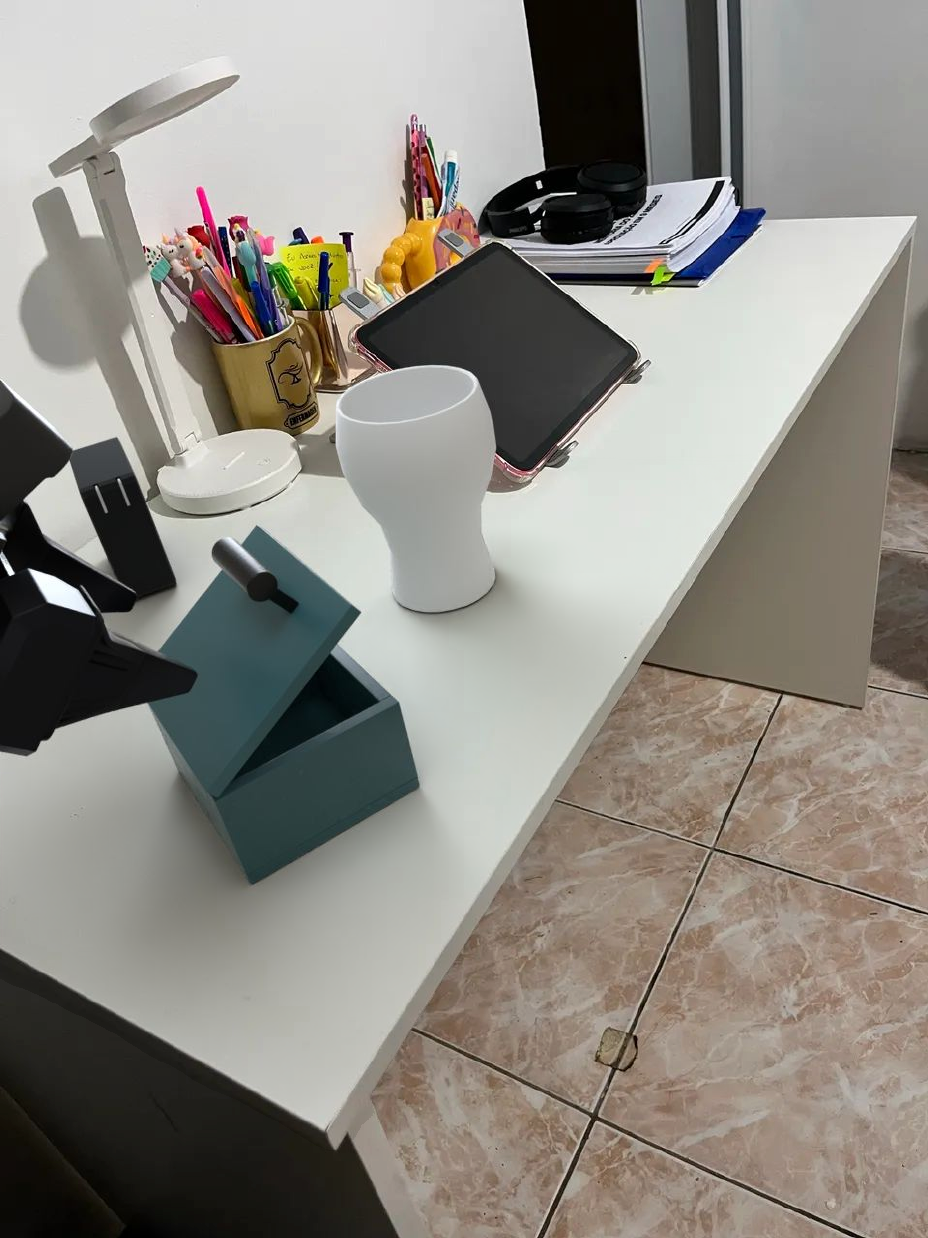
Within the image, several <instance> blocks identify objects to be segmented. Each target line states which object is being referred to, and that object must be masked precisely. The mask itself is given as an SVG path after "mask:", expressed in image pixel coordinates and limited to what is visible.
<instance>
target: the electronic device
mask: <svg viewBox="0 0 928 1238" xmlns="http://www.w3.org/2000/svg"><path fill="white" fill-rule="evenodd" d="M68 462H69V463H70V467H71V470H72V473H73V476H74V480H75V483H76V486H77V489H78V493H79V495H80V498H81V501H82V503H83V504H84V508H85V510H86V512H87V514H88V517H89V519H90V522H91V524H92V526H93V528H94V531H95V533H96V535H97V538H98V540H99V542H100V545H101V547H102V549H103V551H104V554H105V556H106V558H107V561H108V563H109V565H110V568H111V570H112V572H113V575H114V577H115V579H116V580H117V581H119V582H120V583H122V584H124V585H125V586H127V587H128V588H130V589H132V590H133V591H135V593H136V594H137V596H138V598H141V597H144V596H147V595H150V594H152V593H156V592H159V591H161V590H163V589H167V588H169V587H171V586H174V585H177V577H176V575H175V572H174V570H173V567H172V565H171V562H170V559H169V557H168V554H167V552H166V549H165V546H164V544H163V542H162V539H161V537H160V534H159V532H158V531H159V530H158V529H157V526H156V523H155V521H154V518H153V516H152V514H151V511H150V508H149V506H148V503H147V500H146V498H145V495H144V493H143V490H142V487H141V484H140V482H139V479H138V478H137V475H136V473H135V470H134V469H133V467H132V465H131V462H130V460H129V458H128V456H127V454H126V451H125V449H124V447H123V445H122V443H121V441H120V439H119V438H118V437H117V436H115V437H111V438H108V439H105V440H102V441H98V442H96V443H92V444H89V445H86V446H83V447H80V448H77V449H73V453H72V456H71V458H70V460H69V461H68Z"/></svg>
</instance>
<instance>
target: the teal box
mask: <svg viewBox="0 0 928 1238" xmlns="http://www.w3.org/2000/svg"><path fill="white" fill-rule="evenodd" d="M147 705H148V707H149V710H150V712H151V714H152V716H153V719H154V720H155V723H156V725H157V727H158V729H159V732H160V734H161V737H162V738H163V741H164V743H165V745H166V747H167V750H168V751H169V754H170V756H171V758H172V760H173V763H174V765H175V767H176V769H177V771H178V772H179V774H180V775H181V777H182V779H183V780H184V782H185V784H186V785H187V787H188V788H189V790H190V792H191V793H192V795H193V796H194V798H195V800H196V801H197V802H198V805H199V806H200V807H201V809H202V810H203V812H204V814H205V816H206V817H207V819H208V820H209V822H210V823H211V825H212V826H213V828H214V829H215V831H216V832H217V834H218V836H219V838H220V839H221V840H222V843H223V844H224V845H225V847H226V849H227V850H228V852H229V853H230V855H231V857H232V858H233V859H234V861H235V863H236V864H237V866H238V867H239V869H240V871H241V873H242V874H243V876H244V877H245V879H246V880H247V882H248V883H249V885H255V884H256V883H258V882H259V881H261V880H263V879H264V878H266V877H268V876H269V875H271V874H273V873H275V872H276V871H278V870H279V869H282V868H283V867H285V866H286V865H288V864H290V863H291V862H293V861H295V860H296V859H299V858H301V857H302V856H303V855H306V854H307V853H309V852H310V851H312V850H313V849H315V848H317V847H319V846H321V845H322V844H324V843H326V842H327V841H329V840H330V839H332V838H334V837H336V836H338V835H340V834H341V833H343V832H344V831H346V830H348V829H349V828H351V827H353V826H355V825H356V824H358V823H360V822H361V821H363V820H365V819H366V818H368V817H370V816H372V815H374V814H375V813H377V812H379V811H380V810H382V809H383V808H385V807H387V806H389V805H390V804H392V803H394V802H395V801H397V800H399V799H400V798H403V797H404V796H406V795H408V794H409V793H410V792H412V791H414V790H416V789H418V788H419V787H421V785H420V780H419V776H418V775H419V774H418V771H417V767H416V762H415V759H414V756H413V751H412V748H411V744H410V743H411V742H410V739H409V735H408V731H407V728H406V723H405V719H404V715H403V711H402V709H401V708H402V707H401V704H400V702H399V700H398V699H397V698H395V697H394V696H393V695H392V694H391V693H390V692H389V691H388V690H386V688H385V687H383V686H382V684H380V682H378V681H377V680H376V679H375V678H374V677H373V676H372V675H371V674H370V673H369V672H368V671H367V670H366V669H364V668H363V667H362V665H360V664H359V663H358V662H357V661H356V660H355V659H354V658H353V657H352V656H351V655H350V654H349V653H348V652H347V651H345V650H344V649H343V648H342V647H341V646H340V645H339V643H338V644H337V645H336V646H335V648H334V649H333V650H332V651H331V653H330V654H329V655H328V657H327V658H326V659H325V660H324V662H323V663H322V664H321V666H320V667H319V668H318V669H317V671H316V672H315V673H314V675H313V676H312V677H311V678H310V680H309V681H308V682H307V684H306V685H305V686H304V688H303V689H302V690H301V691H300V693H299V694H298V695H297V697H296V698H295V699H294V700H293V702H292V703H291V704H290V706H289V707H288V708H287V709H286V711H285V712H284V713H283V715H282V716H281V717H280V718H279V720H278V721H277V722H276V724H275V725H274V726H273V728H272V729H271V730H270V731H269V733H268V734H267V735H266V737H265V738H264V739H263V740H262V742H261V743H260V744H259V746H258V747H257V748H256V749H255V751H254V752H253V753H252V755H251V756H250V757H249V758H248V760H247V761H246V762H245V764H244V765H243V766H242V768H241V769H240V770H239V771H238V773H237V774H236V775H235V777H234V778H233V779H232V780H231V782H230V783H229V784H228V786H227V787H226V788H225V789H224V791H223V792H222V793H221V795H220V796H219V797H215V796H213V795H210V794H208V793H206V792H205V790H204V789H203V787H202V785H201V784H200V782H199V781H198V779H197V778H196V776H195V775H194V773H193V772H192V770H191V769H190V767H189V766H188V764H187V762H186V761H185V759H184V758H183V756H182V755H181V753H180V752H179V750H178V749H177V747H176V746H175V744H174V743H173V741H172V739H171V738H170V736H169V735H168V733H167V732H166V730H165V729H164V727H163V726H162V724H161V723H160V721H159V720H158V718H157V716H156V715H155V713H154V712H153V710H152V709H151V707H150V706H149V704H148V703H147Z"/></svg>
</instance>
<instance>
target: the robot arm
mask: <svg viewBox="0 0 928 1238" xmlns="http://www.w3.org/2000/svg"><path fill="white" fill-rule="evenodd" d="M73 450H74V449H73V446H72V445H71V444H70V443H69V442H68V441H67V440H66V439H65V438H64V436H62V434H61V433H60V432H59V431H58V429H57V428H56V427H55V426H53V424H51V423H50V422H49V421H48V420H46V419H45V417H44V416H42V415H41V414H40V413H39V412H38V411H37V410H36V409H34V408H33V407H32V406H31V405H30V404H29V403H28V402H27V401H26V400H24V399H23V397H21V396H20V395H19V394H18V393H17V392H16V391H15V390H14V389H12V387H10V386H9V385H8V384H7V383H6V382H5V381H3V380H2V379H1V378H0V752H1V753H6V754H11V755H17V756H23V757H29V756H31V755H32V754H34V753H36V752H37V751H38V749H39V747H40V745H41V743H42V742H47V741H49V740H50V739H51V738H52V737H53V735H54V734H55V731H56V730H57V729H61V728H64V727H67V726H70V725H74V724H76V723H80V722H83V721H86V720H88V719H91V718H95V717H97V716H101V715H104V714H108V713H111V712H116V711H120V710H125V709H127V708H132V707H137V706H141V705H145V704H148V703H149V702H153V701H157V700H162V699H166V698H170V697H174V696H178V695H182V694H186V693H188V692H190V690H191V689H192V687H193V685H194V683H195V681H196V679H197V677H198V674H197V672H196V671H195V670H194V669H193V668H191V667H189V666H187V665H185V664H183V663H181V662H179V661H177V660H175V659H173V658H171V657H169V656H167V655H165V654H162V653H160V652H158V651H159V650H156V649H153V648H152V647H149V646H147V645H145V644H142V643H141V642H138V641H136V640H133V639H132V638H129V637H127V636H125V635H123V634H121V633H118V632H116V631H114V630H112V629H111V628H108V627H107V626H106V624H105V618H104V616H103V614H119V613H120V614H121V613H123V614H124V613H130V612H131V611H132V610H133V609H134V606H135V604H136V602H137V601H138V599H139V597H138V596H137V594H136V593H135V591H133V590H132V589H130V588H128V587H127V586H125V585H124V584H122V583H120V582H119V581H117V579H116V578H114V577H112V576H111V575H109V574H107V572H104V571H103V570H102V569H100V568H98V567H96V566H94V565H93V564H92V563H90V562H88V561H87V560H85V559H83V558H82V557H80V556H78V555H76V554H75V553H73V552H72V551H71V550H69V549H68V548H66V547H64V546H63V545H61V544H59V543H58V542H56V541H55V540H53V539H52V538H51V537H49V536H47V535H46V534H45V533H43V531H42V529H41V527H40V525H39V523H38V521H37V519H36V516H35V514H34V513H33V511H32V508H31V506H30V505H29V503H28V501H27V500H26V498H27V497H28V496H29V495H30V494H31V493H32V492H33V491H34V490H36V488H38V487H39V486H40V484H41V483H43V482H44V481H45V480H46V479H52V478H55V477H56V476H57V475H58V474H60V472H62V470H63V469H64V468H65V467H66V466H67V464H68V463H69V462H70V461H69V460H70V458H71V456H72V453H73Z"/></svg>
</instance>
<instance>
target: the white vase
mask: <svg viewBox="0 0 928 1238" xmlns="http://www.w3.org/2000/svg"><path fill="white" fill-rule="evenodd" d="M335 404H336V406H335V448H336V452H337V457H338V460H339V464H340V468H341V472H342V474H343V476H344V478H345V480H346V482H347V483H348V485H349V487H350V488H351V490H352V491H353V493H354V495H355V496H356V498H357V500H358V502H359V503H360V506H361V507H362V508H363V509H364V510H365V511H366V512H367V513H368V515H370V517H372V518H373V519H374V521H375V522H376V523H377V524H378V526H380V529H381V531H382V534H383V536H384V539H385V541H386V545H387V547H388V550H389V553H390V555H389V557H390V580H391V581H390V582H391V591H392V595H393V597H394V599H395V601H396V602H397V603H398V604H400V605H401V606H402V607H404V608H406V609H409V610H412V611H416V612H423V613H441V612H448V611H454V610H457V609H460V608H463V607H466V606H468V605H470V604H473V603H475V602H476V601H478V600H480V599H481V598H482V597H484V596H485V595H486V594H487V593H489V591H490V589H492V587H493V586H494V583H495V580H496V573H495V567H494V565H493V561H492V557H491V555H490V552H489V549H488V546H487V543H486V541H485V537H484V535H483V533H482V529H483V527H482V523H483V522H482V503H483V501H484V499H485V496H486V493H487V491H488V488H489V485H490V482H491V479H492V476H493V472H494V471H493V470H494V463H495V457H496V452H497V451H496V450H497V444H496V436H495V429H494V422H493V417H492V416H493V415H492V412H491V409H490V406H489V404H488V402H487V399H486V397H485V394H484V391H483V389H482V387H481V384H480V382H479V379H478V378H477V376H475V375H474V374H473V373H472V371H469V370H466V369H465V368H464V369H463V368H462V367H458V366H452V365H441V364H440V365H437V364H429V365H415V366H410V367H403V368H397V369H394V370H389V371H386V372H382V373H378V374H376V375H373V376H371V377H369V378H366V379H363V380H362V381H360V382H358V383H355V384H354V385H352V386H351V387H349V388H348V389H347V390H346V391H344V392H343V393H342V394H341V395H340V397H339V398H338V399H337V401H336V403H335Z"/></svg>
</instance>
